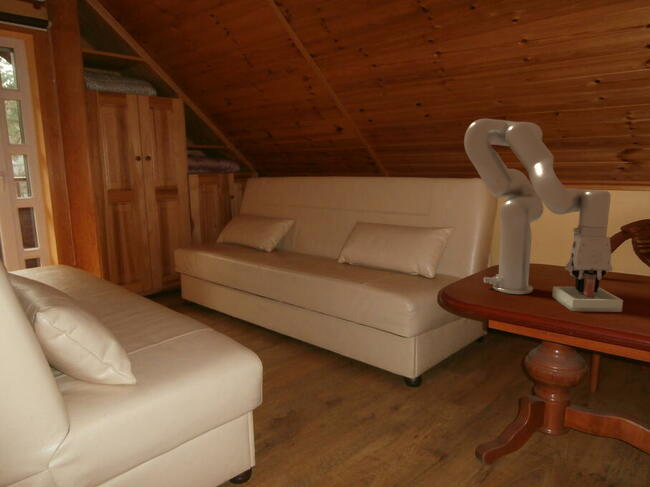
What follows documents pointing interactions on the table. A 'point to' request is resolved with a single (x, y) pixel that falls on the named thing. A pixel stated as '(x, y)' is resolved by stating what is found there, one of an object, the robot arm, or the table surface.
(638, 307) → the table surface
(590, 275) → the lighter
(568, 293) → the tray
